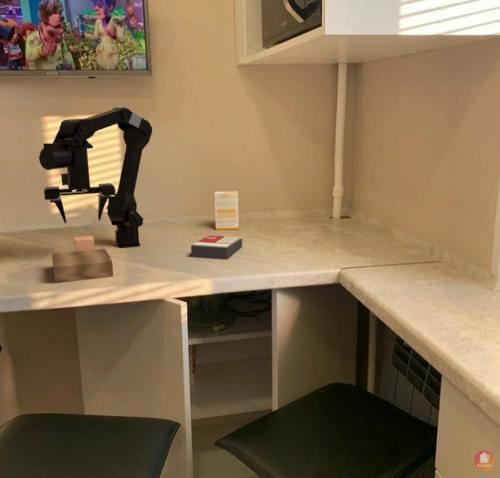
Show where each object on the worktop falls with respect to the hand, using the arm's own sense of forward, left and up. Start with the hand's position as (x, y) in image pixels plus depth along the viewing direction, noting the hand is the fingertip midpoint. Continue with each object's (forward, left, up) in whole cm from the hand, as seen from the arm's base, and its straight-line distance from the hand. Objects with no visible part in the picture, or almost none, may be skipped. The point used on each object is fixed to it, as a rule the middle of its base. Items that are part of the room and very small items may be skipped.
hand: (82, 221), depth 156 cm
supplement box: (-50, -21, -11) cm, 55 cm away
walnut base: (+2, +14, -11) cm, 18 cm away
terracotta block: (0, 0, -11) cm, 11 cm away
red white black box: (-37, +8, -11) cm, 40 cm away
